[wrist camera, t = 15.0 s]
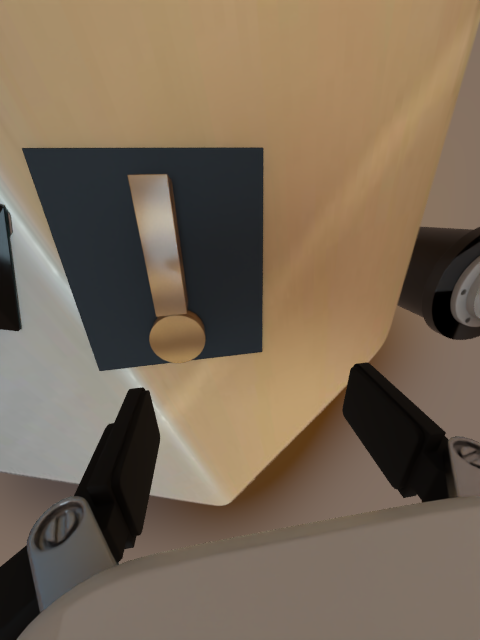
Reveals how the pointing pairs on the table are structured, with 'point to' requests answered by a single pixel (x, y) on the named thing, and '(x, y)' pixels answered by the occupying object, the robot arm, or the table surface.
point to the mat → (126, 249)
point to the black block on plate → (7, 277)
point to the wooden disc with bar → (165, 270)
